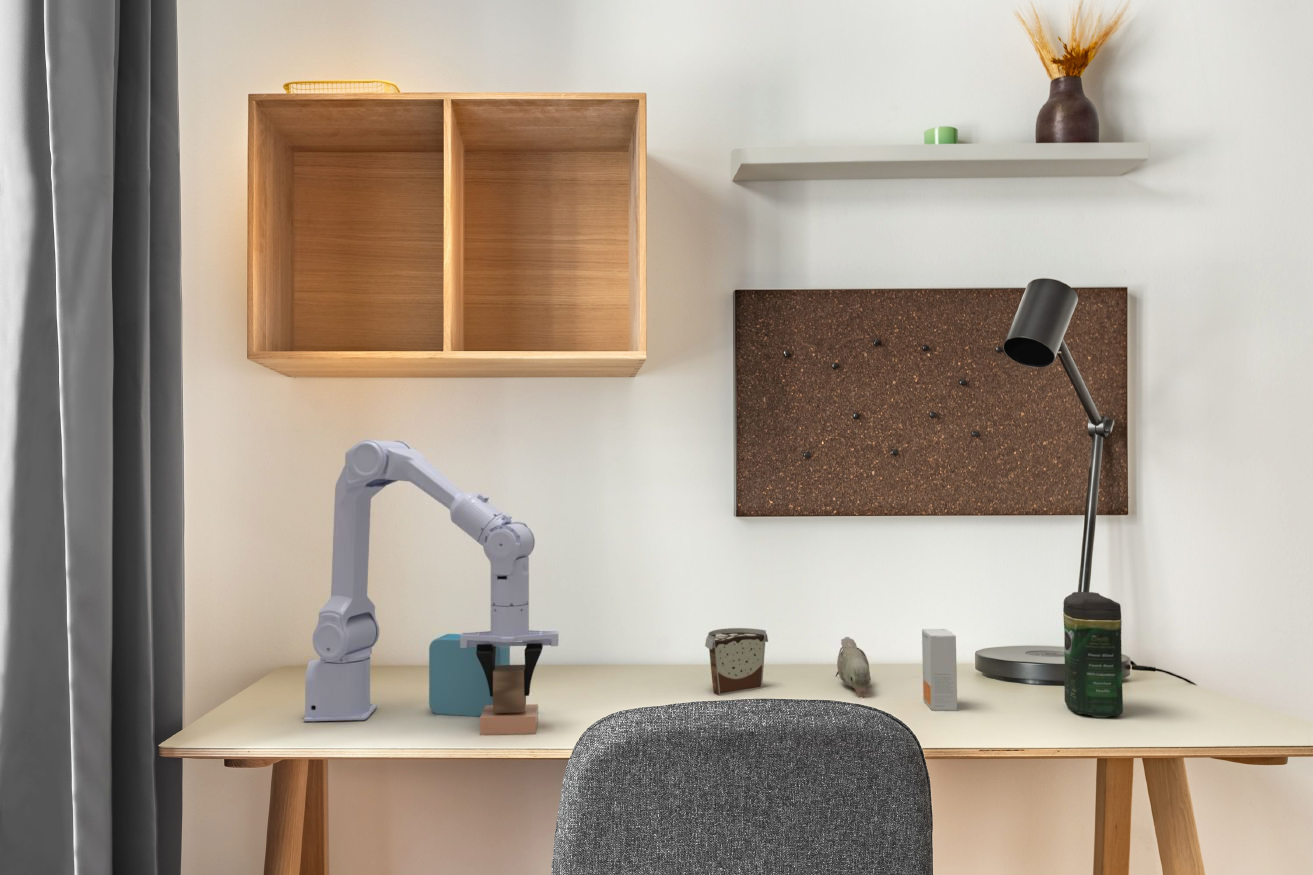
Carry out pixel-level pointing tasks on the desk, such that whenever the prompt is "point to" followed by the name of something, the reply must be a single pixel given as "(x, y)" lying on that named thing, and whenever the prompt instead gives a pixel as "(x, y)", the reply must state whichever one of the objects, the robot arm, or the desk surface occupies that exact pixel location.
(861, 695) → the decorative bird
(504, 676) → the walnut block
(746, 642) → the food container
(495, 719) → the terracotta plinth
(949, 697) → the skincare box
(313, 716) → the robot arm
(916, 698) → the desk surface
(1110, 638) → the coffee jar
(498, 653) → the teal rounded block
